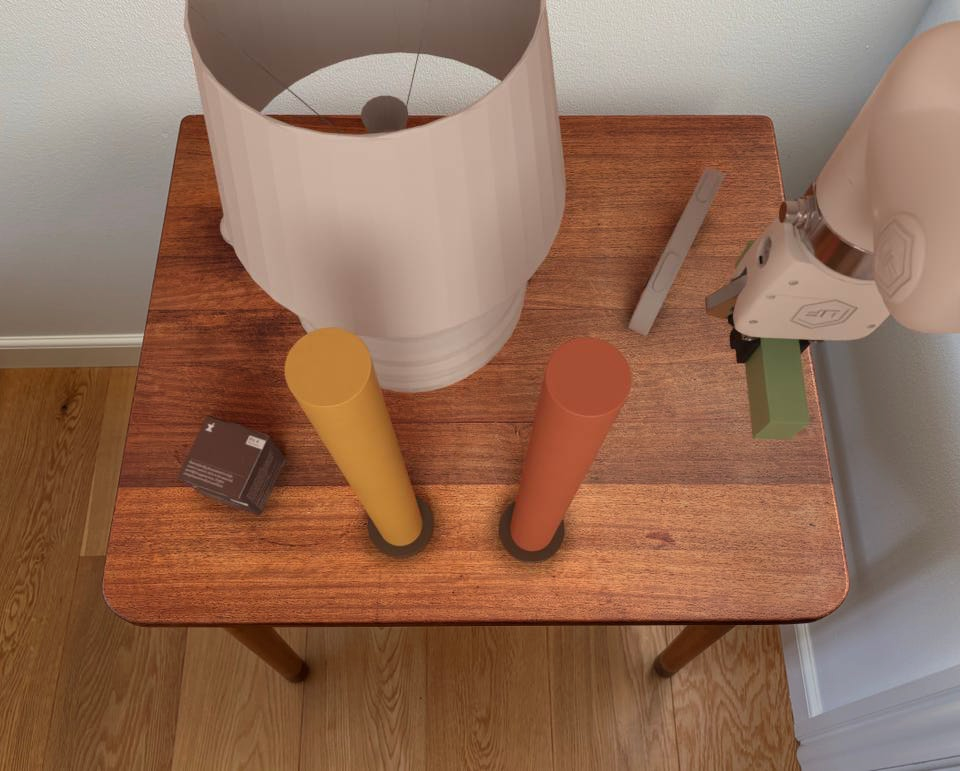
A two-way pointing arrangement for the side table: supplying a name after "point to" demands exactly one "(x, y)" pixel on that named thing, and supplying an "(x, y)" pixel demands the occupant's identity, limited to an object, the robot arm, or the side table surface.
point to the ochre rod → (359, 435)
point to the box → (233, 465)
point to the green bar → (776, 386)
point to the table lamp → (387, 175)
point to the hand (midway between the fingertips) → (761, 347)
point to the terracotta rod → (563, 443)
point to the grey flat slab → (675, 252)
